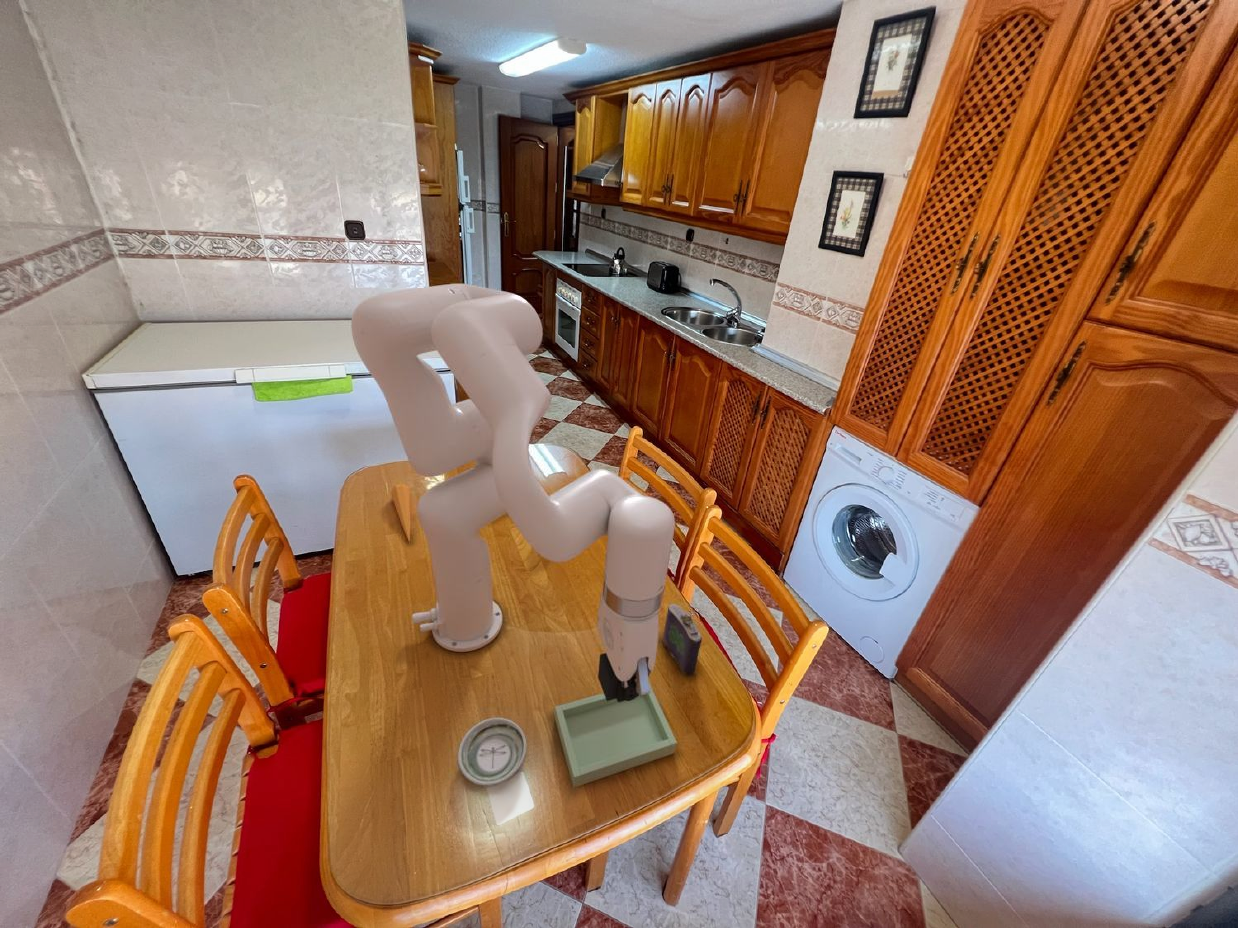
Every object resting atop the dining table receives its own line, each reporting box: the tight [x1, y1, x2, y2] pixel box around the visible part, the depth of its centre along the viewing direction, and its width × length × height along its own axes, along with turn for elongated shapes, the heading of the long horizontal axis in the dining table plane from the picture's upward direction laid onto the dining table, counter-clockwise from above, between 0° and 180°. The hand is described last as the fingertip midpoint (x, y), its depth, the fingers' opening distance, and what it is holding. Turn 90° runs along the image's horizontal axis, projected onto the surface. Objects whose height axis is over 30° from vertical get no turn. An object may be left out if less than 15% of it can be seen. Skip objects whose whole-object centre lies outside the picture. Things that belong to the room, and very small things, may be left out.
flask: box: [661, 603, 703, 677], centre depth 88 cm, size 9×3×11 cm, turn 26°
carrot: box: [390, 483, 412, 543], centre depth 117 cm, size 20×4×4 cm, turn 26°
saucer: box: [457, 717, 528, 787], centre depth 72 cm, size 10×10×2 cm
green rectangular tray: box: [554, 682, 678, 788], centre depth 76 cm, size 16×11×3 cm
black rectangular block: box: [597, 652, 650, 701], centre depth 69 cm, size 6×4×5 cm, turn 110°
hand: (621, 682), depth 71 cm, fingers closed on black rectangular block, 4 cm apart
